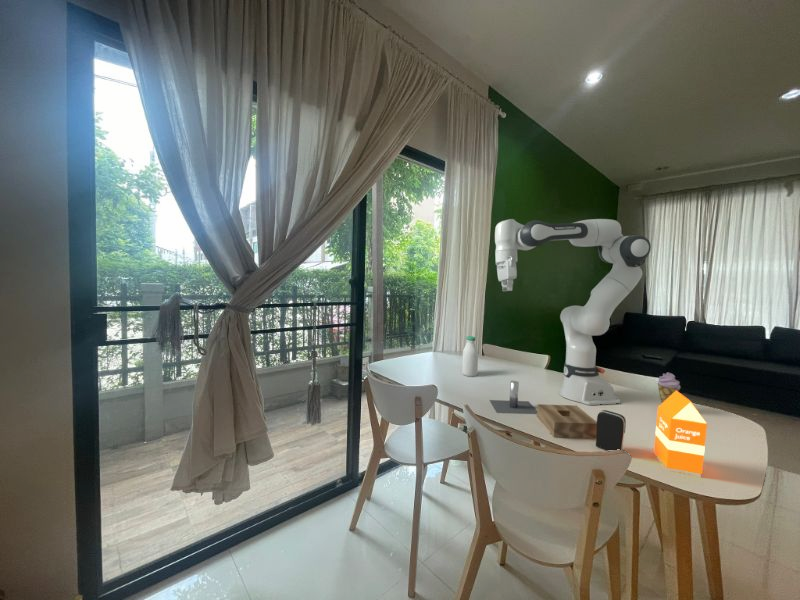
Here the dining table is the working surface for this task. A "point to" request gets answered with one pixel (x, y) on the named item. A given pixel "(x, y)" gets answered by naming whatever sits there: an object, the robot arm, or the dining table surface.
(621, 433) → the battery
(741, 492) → the dining table surface
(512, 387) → the pin
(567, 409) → the socket block
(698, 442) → the orange juice
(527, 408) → the mat
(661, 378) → the ice cream cone
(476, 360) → the milk bottle
